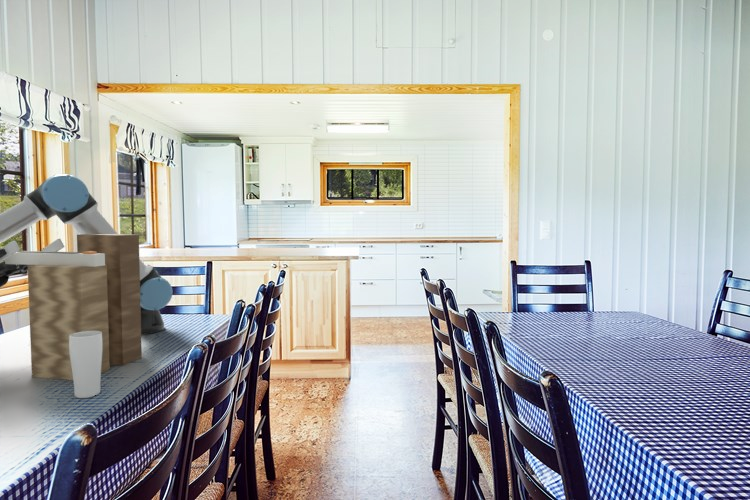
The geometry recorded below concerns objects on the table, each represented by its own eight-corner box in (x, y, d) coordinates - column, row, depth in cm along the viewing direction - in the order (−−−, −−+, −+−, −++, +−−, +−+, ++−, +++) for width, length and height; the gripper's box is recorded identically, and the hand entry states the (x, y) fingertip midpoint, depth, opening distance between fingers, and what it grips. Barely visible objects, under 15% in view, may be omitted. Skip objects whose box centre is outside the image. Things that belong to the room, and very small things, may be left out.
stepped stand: (31, 376, 121) (26, 235, 119) (93, 354, 142) (89, 233, 139) (87, 381, 118) (82, 236, 116) (141, 357, 139) (138, 234, 136)
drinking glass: (80, 390, 112) (79, 330, 111) (109, 389, 112) (107, 330, 111) (64, 400, 105) (62, 337, 104) (94, 400, 106) (92, 337, 105)
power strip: (5, 264, 123) (4, 250, 123) (17, 262, 127) (17, 249, 127) (94, 266, 119) (94, 252, 118) (105, 265, 122) (104, 251, 122)
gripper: (32, 285, 139) (83, 252, 135) (-58, 299, 115) (1, 259, 111) (21, 264, 139) (71, 231, 136) (-71, 273, 115) (-13, 232, 111)
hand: (40, 243), depth 123 cm, fingers open, 13 cm apart
